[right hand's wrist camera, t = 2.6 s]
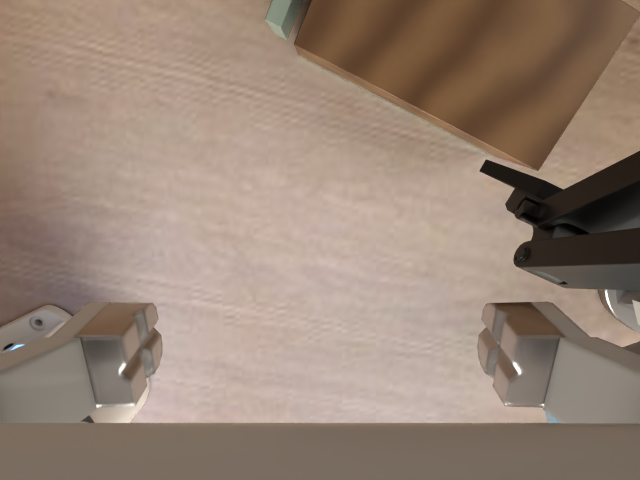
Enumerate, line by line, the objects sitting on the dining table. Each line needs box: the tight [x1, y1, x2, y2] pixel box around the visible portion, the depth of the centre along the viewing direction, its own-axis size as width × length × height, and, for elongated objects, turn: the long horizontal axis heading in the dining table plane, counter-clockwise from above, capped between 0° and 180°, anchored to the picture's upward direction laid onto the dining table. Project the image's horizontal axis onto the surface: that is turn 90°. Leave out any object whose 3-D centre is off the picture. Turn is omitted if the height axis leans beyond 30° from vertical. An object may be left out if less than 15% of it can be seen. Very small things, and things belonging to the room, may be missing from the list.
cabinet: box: [294, 0, 640, 171], centre depth 31 cm, size 20×12×8 cm, turn 65°
